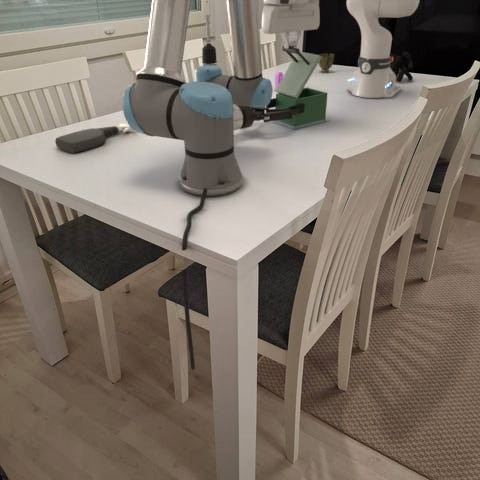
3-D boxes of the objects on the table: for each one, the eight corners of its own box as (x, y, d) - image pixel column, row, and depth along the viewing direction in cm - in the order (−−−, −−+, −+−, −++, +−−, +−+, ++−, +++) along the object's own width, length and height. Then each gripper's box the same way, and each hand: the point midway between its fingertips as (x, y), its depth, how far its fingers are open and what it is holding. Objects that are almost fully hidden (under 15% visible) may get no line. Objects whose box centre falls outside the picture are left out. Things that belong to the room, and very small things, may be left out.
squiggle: (400, 92, 202) (376, 71, 205) (417, 76, 202) (392, 56, 205) (405, 81, 191) (380, 59, 194) (423, 64, 191) (397, 42, 194)
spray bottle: (53, 147, 134) (120, 127, 150) (74, 154, 128) (141, 133, 144) (51, 137, 132) (118, 118, 149) (72, 145, 126) (140, 124, 143)
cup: (315, 72, 216) (316, 55, 212) (320, 69, 222) (321, 52, 218) (330, 73, 213) (331, 56, 209) (334, 71, 219) (336, 53, 215)
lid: (300, 53, 145) (284, 36, 139) (321, 57, 138) (306, 40, 132) (277, 92, 147) (260, 77, 141) (297, 98, 140) (281, 83, 134)
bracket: (286, 91, 186) (286, 74, 182) (275, 89, 189) (275, 72, 185) (302, 85, 195) (302, 68, 191) (291, 83, 197) (291, 67, 194)
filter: (220, 99, 177) (217, 15, 161) (206, 100, 176) (202, 16, 160) (215, 96, 182) (212, 14, 166) (202, 97, 180) (197, 14, 164)
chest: (305, 114, 158) (307, 87, 153) (325, 121, 151) (327, 93, 146) (275, 122, 152) (275, 93, 147) (294, 129, 145) (295, 100, 140)
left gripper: (217, 120, 145) (270, 108, 156) (259, 138, 130) (315, 124, 140) (216, 97, 141) (271, 86, 152) (260, 112, 126) (317, 99, 137)
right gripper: (311, -6, 136) (308, 43, 144) (258, -3, 126) (258, 49, 133) (326, -5, 132) (322, 45, 139) (272, -2, 122) (271, 52, 129)
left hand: (292, 104), depth 146 cm, fingers closed on chest, 10 cm apart
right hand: (290, 47), depth 136 cm, fingers closed, pressing on lid
